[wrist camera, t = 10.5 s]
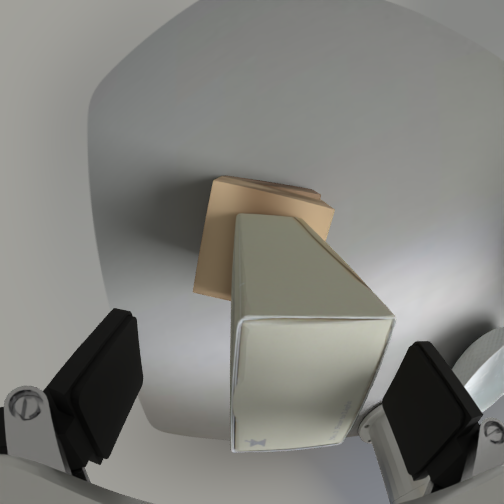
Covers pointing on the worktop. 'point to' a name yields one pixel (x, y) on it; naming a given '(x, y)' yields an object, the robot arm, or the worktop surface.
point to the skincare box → (298, 338)
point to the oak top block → (224, 219)
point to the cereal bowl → (483, 368)
